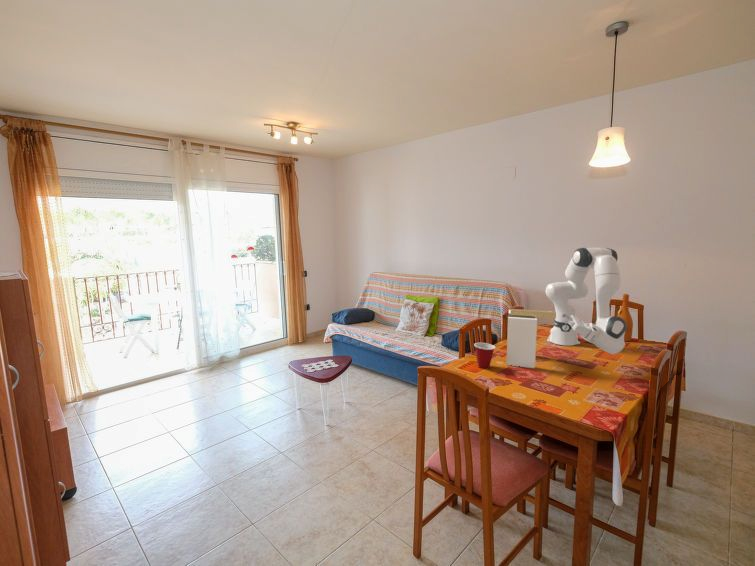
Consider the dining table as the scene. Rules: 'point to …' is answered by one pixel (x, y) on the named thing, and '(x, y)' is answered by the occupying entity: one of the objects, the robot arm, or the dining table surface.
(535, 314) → the light wood bar
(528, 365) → the white upright block
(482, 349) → the plastic cup
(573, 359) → the dining table surface
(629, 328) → the wine bottle
